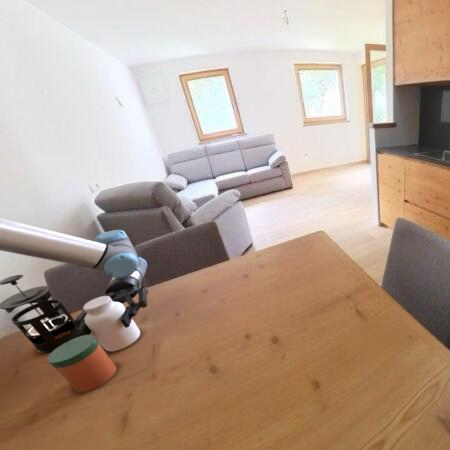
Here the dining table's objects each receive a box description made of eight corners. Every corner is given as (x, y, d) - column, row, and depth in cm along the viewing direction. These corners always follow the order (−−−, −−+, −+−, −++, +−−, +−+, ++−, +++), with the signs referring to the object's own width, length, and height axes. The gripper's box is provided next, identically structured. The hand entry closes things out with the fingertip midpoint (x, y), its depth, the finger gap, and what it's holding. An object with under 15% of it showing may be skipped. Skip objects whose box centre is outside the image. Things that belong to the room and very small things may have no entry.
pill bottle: (108, 357, 76) (78, 317, 70) (102, 343, 81) (73, 304, 74) (144, 338, 82) (119, 299, 75) (137, 326, 87) (113, 288, 80)
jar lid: (41, 370, 63) (36, 364, 62) (73, 342, 70) (69, 337, 69) (79, 365, 64) (75, 359, 63) (107, 337, 71) (103, 332, 70)
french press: (81, 342, 82) (31, 279, 72) (33, 361, 76) (-29, 296, 66) (86, 320, 90) (42, 261, 80) (43, 336, 85) (-10, 275, 74)
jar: (66, 394, 67) (39, 365, 63) (93, 366, 74) (70, 338, 69) (100, 389, 68) (76, 360, 63) (124, 362, 75) (103, 334, 70)
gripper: (167, 283, 98) (158, 324, 80) (88, 307, 89) (57, 359, 71) (158, 266, 95) (146, 304, 77) (74, 288, 85) (39, 338, 68)
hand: (104, 330), depth 74 cm, fingers closed on pill bottle, 8 cm apart
